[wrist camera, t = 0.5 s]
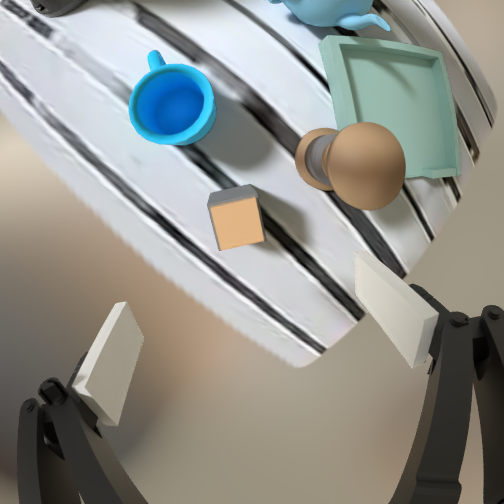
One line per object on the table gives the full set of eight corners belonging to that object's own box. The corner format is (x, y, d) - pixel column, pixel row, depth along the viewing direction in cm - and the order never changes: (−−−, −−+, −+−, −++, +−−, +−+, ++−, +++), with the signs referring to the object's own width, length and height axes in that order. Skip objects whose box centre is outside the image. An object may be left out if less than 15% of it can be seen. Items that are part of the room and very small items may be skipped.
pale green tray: (318, 44, 26) (327, 35, 23) (428, 55, 27) (441, 51, 23) (346, 185, 34) (357, 190, 31) (447, 171, 34) (461, 175, 31)
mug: (226, 129, 30) (227, 122, 22) (164, 156, 30) (146, 159, 23) (191, 49, 26) (182, 23, 18) (132, 77, 26) (107, 60, 18)
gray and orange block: (210, 192, 33) (206, 206, 25) (250, 183, 33) (258, 194, 25) (219, 230, 35) (218, 253, 27) (258, 222, 35) (267, 242, 27)
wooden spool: (289, 132, 31) (323, 125, 20) (347, 125, 31) (400, 120, 20) (300, 194, 34) (336, 217, 23) (355, 184, 34) (408, 203, 23)
